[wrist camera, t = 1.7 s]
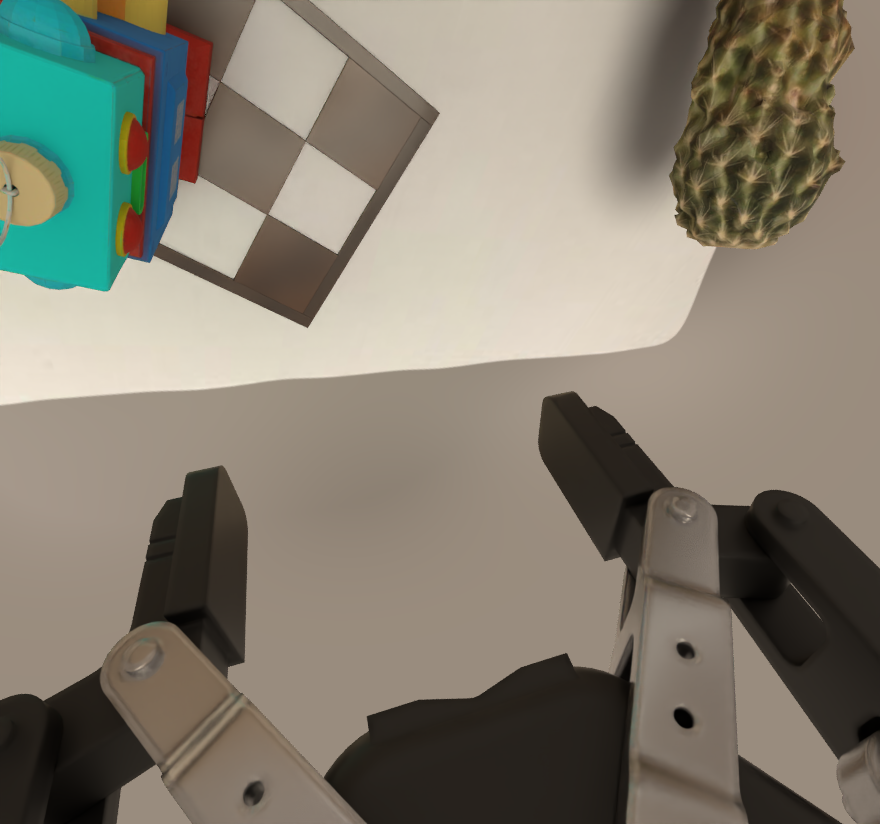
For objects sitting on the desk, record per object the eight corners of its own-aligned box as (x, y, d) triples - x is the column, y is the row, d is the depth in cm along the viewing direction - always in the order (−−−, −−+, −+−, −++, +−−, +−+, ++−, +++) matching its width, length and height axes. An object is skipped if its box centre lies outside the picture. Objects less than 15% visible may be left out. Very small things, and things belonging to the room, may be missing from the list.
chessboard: (33, 197, 33) (32, 198, 33) (139, -146, 26) (139, -147, 25) (307, 326, 44) (307, 328, 44) (439, 112, 36) (440, 113, 36)
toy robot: (194, 201, 36) (115, 415, 17) (94, 172, 33) (-132, 386, 14) (217, 9, 30) (133, 10, 11) (96, -45, 27) (-279, -163, 8)
